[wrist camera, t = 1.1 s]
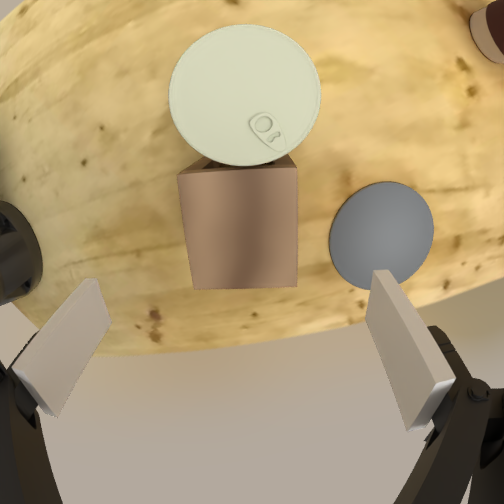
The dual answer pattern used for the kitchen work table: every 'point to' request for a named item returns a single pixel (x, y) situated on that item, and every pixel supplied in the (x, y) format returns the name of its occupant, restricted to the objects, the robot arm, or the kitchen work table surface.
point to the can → (244, 95)
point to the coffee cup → (489, 30)
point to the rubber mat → (381, 233)
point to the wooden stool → (241, 224)
